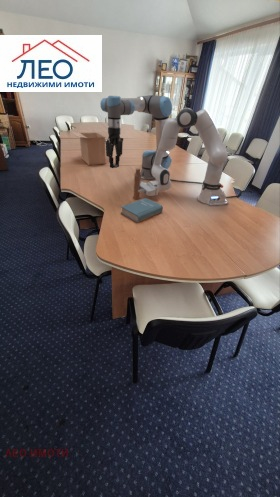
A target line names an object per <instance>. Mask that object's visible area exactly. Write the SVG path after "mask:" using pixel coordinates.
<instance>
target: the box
mask: <svg viewBox="0 0 280 497" xmlns="http://www.w3.org/2000/svg"><path fill="white" fill-rule="evenodd" d="M70 133H71V134H72V135H74V136H75V137H77V138H79V144H80V153H81V160H83V162H85V163H86V165H87V166H95V165H97V166H98V165H106V163H107V162H106V158H107V156H106V143H105V139H106V138H108V137H109V134H108V132H105V131H98V132H96V131H95V130H92V129H91V130H77V132H76V131H70Z"/></svg>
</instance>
